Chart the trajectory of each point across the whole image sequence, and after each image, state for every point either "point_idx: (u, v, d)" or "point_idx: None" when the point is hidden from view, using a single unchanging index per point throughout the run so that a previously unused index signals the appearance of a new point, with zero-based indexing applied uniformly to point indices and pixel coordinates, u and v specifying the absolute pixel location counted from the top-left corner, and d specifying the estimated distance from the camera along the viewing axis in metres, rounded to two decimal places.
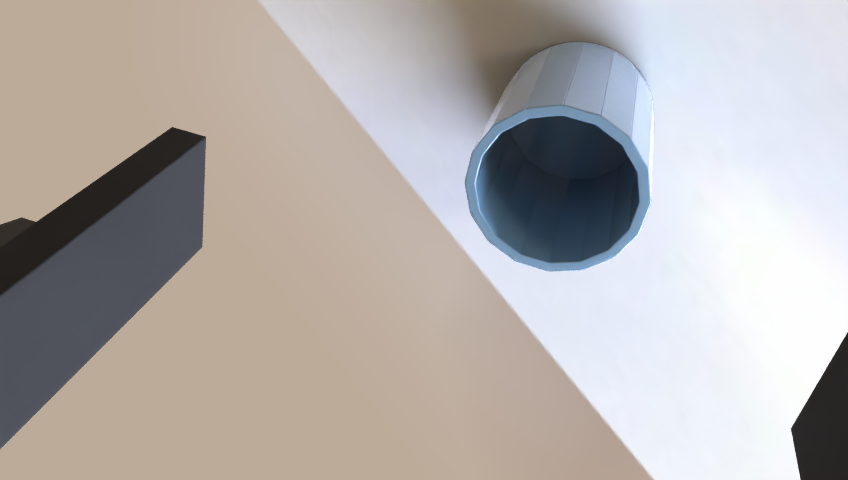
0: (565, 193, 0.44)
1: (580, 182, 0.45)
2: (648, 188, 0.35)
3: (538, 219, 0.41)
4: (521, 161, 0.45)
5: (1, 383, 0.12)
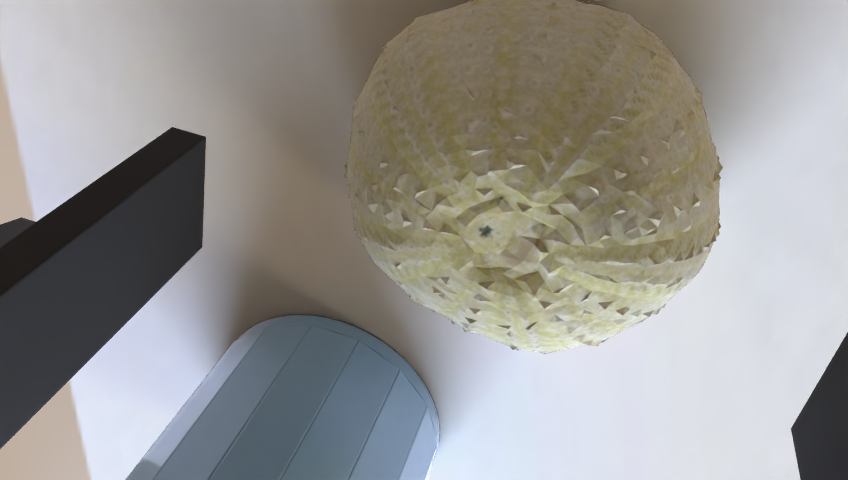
0: None
1: None
2: None
3: None
4: None
5: (1, 383, 0.12)
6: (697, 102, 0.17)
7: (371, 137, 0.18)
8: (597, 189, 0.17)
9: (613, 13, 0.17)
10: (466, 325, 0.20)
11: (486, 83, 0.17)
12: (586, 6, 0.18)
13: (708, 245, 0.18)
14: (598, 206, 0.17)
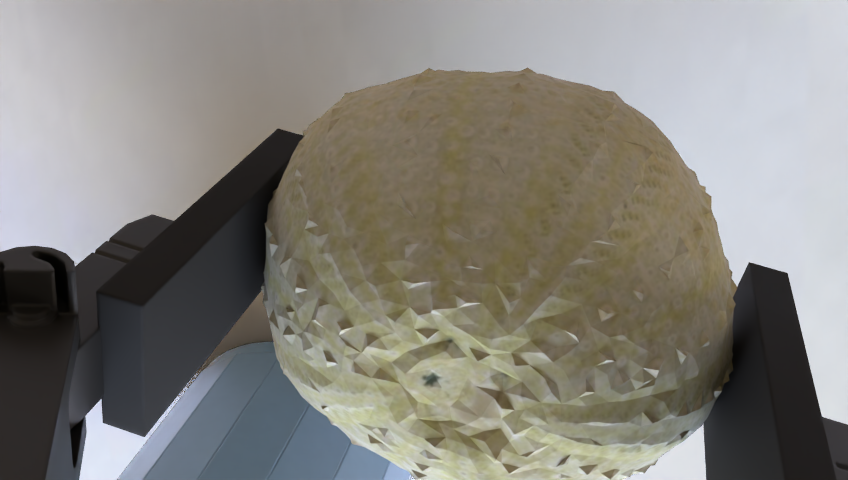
0: None
1: None
2: None
3: None
4: None
5: (155, 369, 0.13)
6: (706, 211, 0.13)
7: (285, 252, 0.14)
8: (576, 335, 0.12)
9: (596, 96, 0.13)
10: (414, 476, 0.16)
11: (427, 193, 0.13)
12: (561, 86, 0.13)
13: (720, 388, 0.14)
14: (577, 355, 0.13)
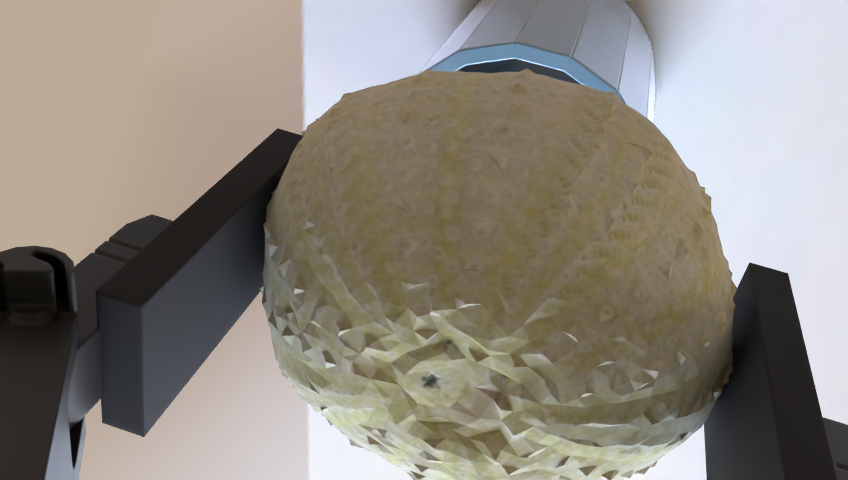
0: None
1: None
2: None
3: None
4: None
5: (154, 369, 0.13)
6: (706, 212, 0.13)
7: (284, 253, 0.14)
8: (576, 336, 0.12)
9: (596, 97, 0.13)
10: (413, 477, 0.16)
11: (427, 195, 0.13)
12: (560, 87, 0.13)
13: (719, 389, 0.14)
14: (577, 356, 0.13)
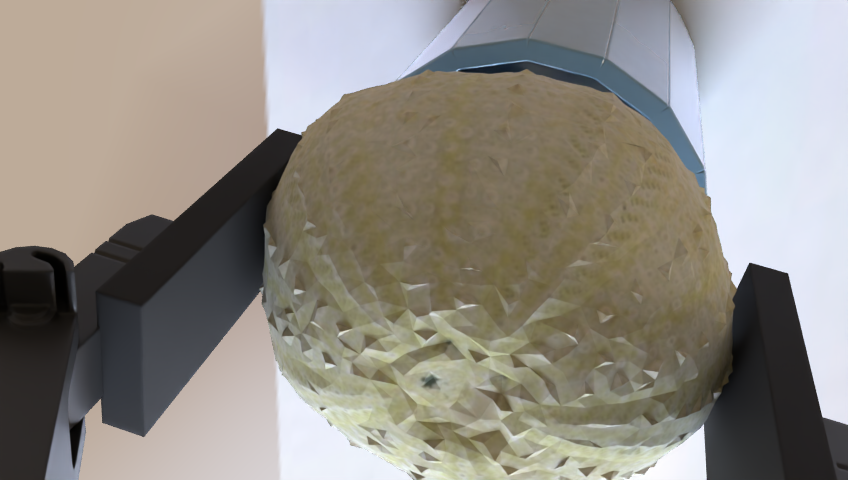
0: None
1: None
2: None
3: None
4: None
5: (154, 369, 0.13)
6: (705, 213, 0.13)
7: (283, 253, 0.14)
8: (575, 336, 0.12)
9: (595, 97, 0.13)
10: (413, 477, 0.16)
11: (426, 195, 0.13)
12: (560, 88, 0.13)
13: (719, 390, 0.14)
14: (577, 356, 0.13)
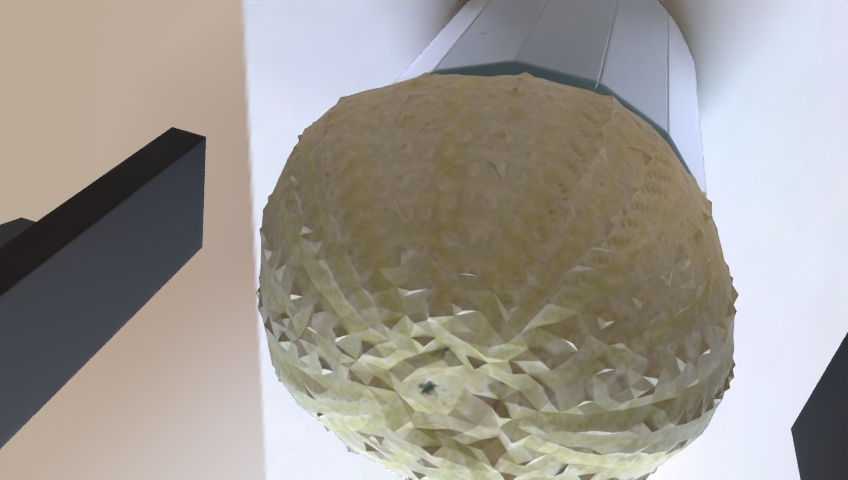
0: None
1: None
2: None
3: None
4: None
5: (1, 383, 0.12)
6: (706, 218, 0.13)
7: (280, 258, 0.14)
8: (575, 343, 0.12)
9: (595, 101, 0.13)
10: None
11: (424, 200, 0.12)
12: (559, 91, 0.13)
13: (720, 396, 0.14)
14: (576, 363, 0.12)
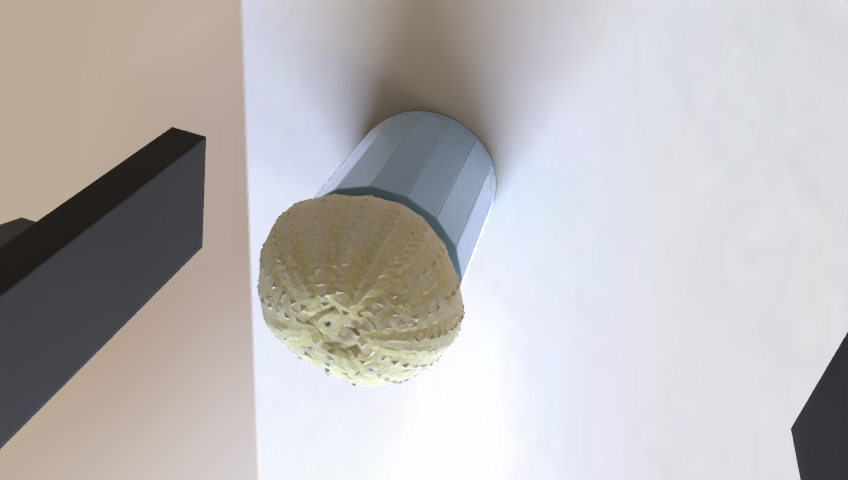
0: None
1: None
2: None
3: None
4: None
5: (1, 383, 0.12)
6: (439, 255, 0.33)
7: (268, 271, 0.34)
8: (382, 304, 0.32)
9: (394, 209, 0.33)
10: (326, 372, 0.36)
11: (324, 249, 0.32)
12: (380, 205, 0.33)
13: (452, 329, 0.34)
14: (383, 312, 0.32)
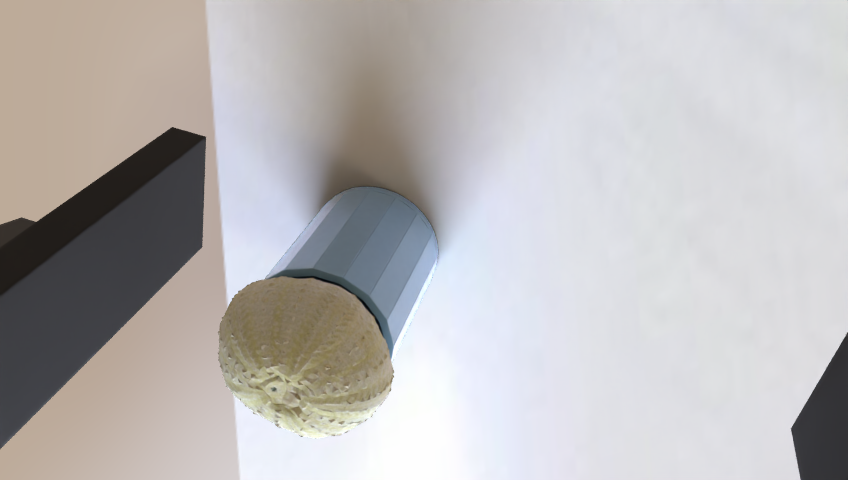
0: None
1: (343, 287, 0.53)
2: None
3: None
4: None
5: (1, 383, 0.12)
6: (367, 331, 0.39)
7: (224, 343, 0.40)
8: (317, 375, 0.38)
9: (329, 292, 0.39)
10: (277, 425, 0.42)
11: (269, 328, 0.38)
12: (318, 288, 0.39)
13: (380, 392, 0.40)
14: (319, 381, 0.38)
